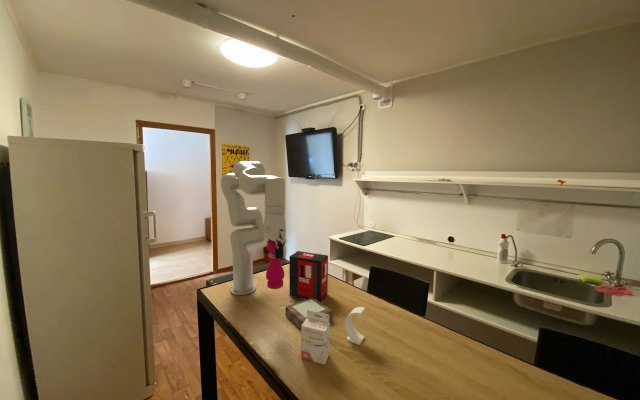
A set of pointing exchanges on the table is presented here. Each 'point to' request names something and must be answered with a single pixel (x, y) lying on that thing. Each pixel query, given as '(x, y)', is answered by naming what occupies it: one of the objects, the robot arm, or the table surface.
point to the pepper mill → (274, 268)
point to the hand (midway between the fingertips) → (275, 254)
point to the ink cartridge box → (315, 337)
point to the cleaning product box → (308, 275)
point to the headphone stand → (350, 330)
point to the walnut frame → (299, 310)
